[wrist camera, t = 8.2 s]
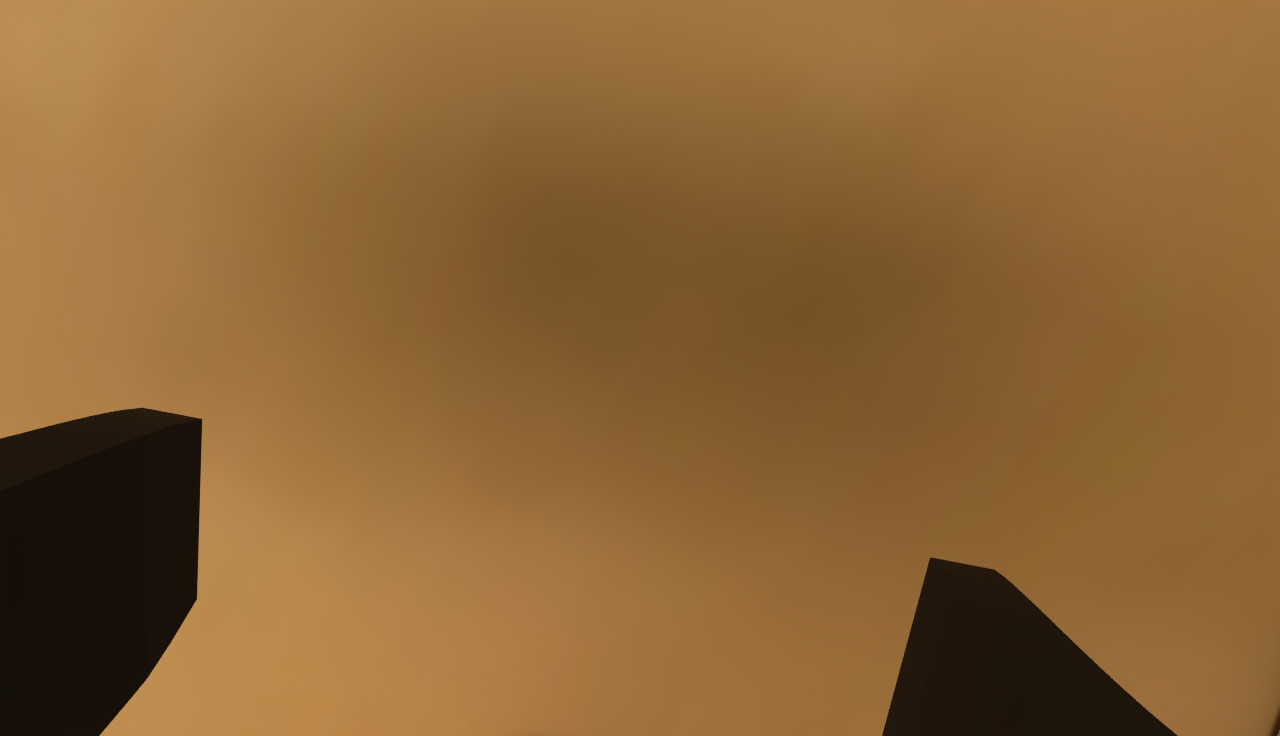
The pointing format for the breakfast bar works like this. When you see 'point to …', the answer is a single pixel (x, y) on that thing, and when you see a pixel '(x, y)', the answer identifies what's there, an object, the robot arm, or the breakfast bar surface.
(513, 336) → the breakfast bar surface
